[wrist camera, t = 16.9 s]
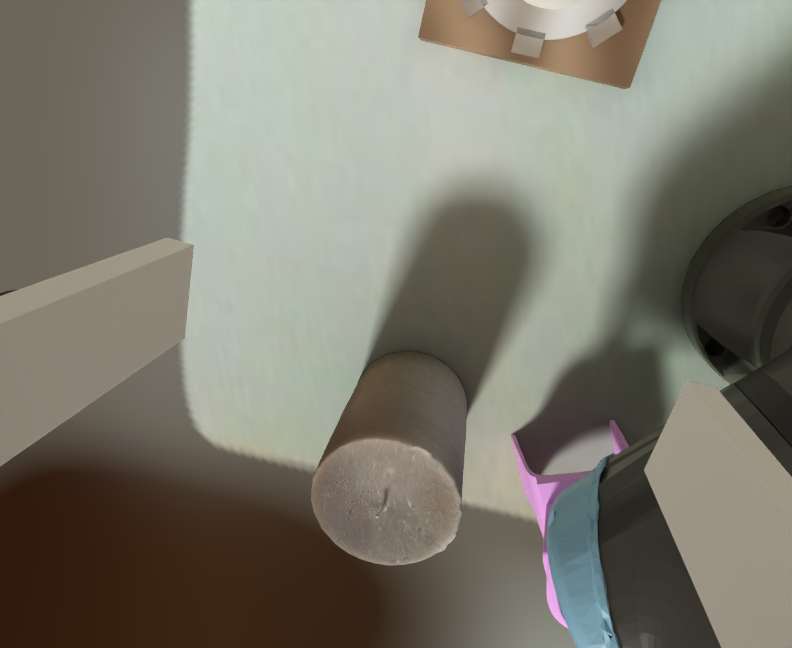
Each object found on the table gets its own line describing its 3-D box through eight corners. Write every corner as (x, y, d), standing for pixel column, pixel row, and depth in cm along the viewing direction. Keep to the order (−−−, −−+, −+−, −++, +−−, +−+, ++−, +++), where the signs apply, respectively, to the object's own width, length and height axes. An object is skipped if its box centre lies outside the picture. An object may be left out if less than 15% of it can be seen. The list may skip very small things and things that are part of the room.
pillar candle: (339, 423, 49) (282, 543, 35) (380, 330, 46) (334, 423, 32) (440, 468, 49) (422, 606, 36) (489, 378, 46) (490, 493, 32)
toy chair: (633, 493, 47) (692, 649, 33) (527, 506, 49) (541, 658, 35) (618, 406, 45) (674, 534, 31) (508, 424, 47) (514, 551, 33)
